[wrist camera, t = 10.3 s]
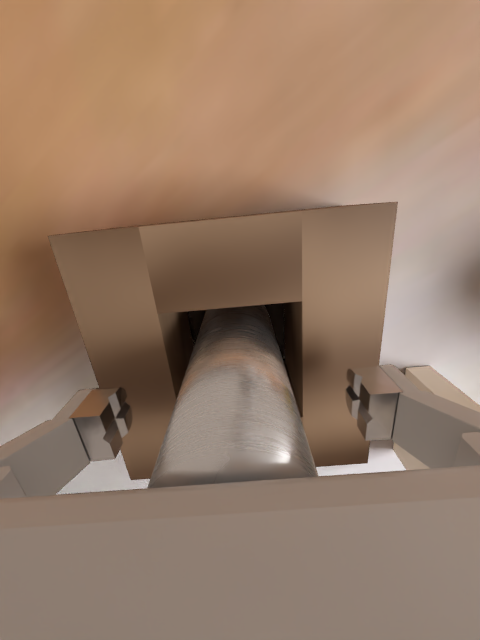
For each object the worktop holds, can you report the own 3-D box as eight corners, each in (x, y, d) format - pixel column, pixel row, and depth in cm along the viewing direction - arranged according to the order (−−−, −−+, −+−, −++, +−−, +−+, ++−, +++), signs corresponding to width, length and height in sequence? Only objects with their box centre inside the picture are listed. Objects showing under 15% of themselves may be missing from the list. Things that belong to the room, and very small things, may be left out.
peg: (198, 295, 15) (120, 460, 5) (268, 289, 15) (330, 443, 5) (208, 356, 17) (162, 579, 7) (272, 351, 17) (325, 569, 6)
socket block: (111, 228, 14) (47, 235, 9) (343, 205, 14) (397, 201, 9) (157, 412, 18) (130, 479, 14) (334, 398, 18) (367, 463, 13)
